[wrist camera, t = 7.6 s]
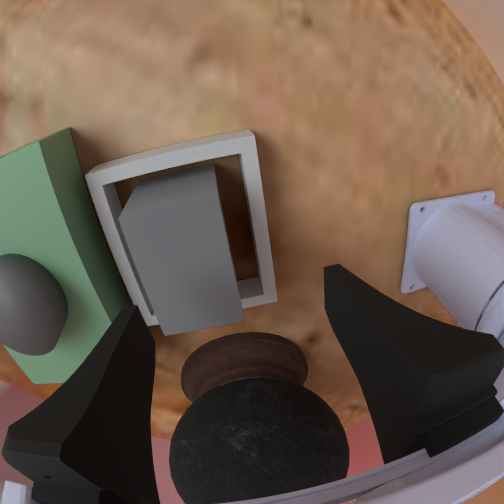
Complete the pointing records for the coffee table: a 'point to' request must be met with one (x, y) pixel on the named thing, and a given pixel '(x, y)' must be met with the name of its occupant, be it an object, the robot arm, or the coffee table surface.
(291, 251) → the coffee table surface
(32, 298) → the green block with dome
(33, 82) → the coffee table surface
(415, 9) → the coffee table surface
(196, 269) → the chute block
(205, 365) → the black ball on stand
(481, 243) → the robot arm
